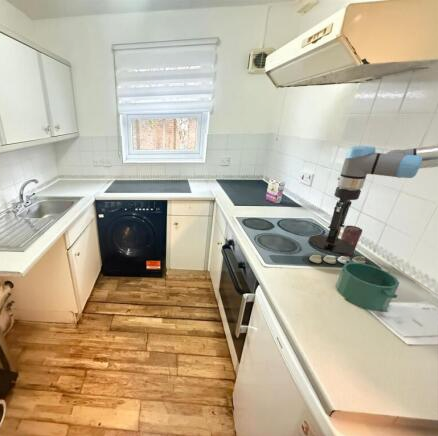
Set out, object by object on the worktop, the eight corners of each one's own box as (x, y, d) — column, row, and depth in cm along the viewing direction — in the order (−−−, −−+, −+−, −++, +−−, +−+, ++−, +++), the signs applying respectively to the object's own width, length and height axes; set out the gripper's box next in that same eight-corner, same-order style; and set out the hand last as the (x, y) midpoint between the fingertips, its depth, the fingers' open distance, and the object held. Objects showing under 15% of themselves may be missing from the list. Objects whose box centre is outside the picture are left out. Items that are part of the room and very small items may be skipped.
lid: (337, 238, 108) (344, 219, 104) (363, 256, 93) (371, 235, 90) (301, 236, 109) (306, 218, 106) (321, 254, 95) (327, 233, 91)
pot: (361, 279, 95) (370, 259, 91) (407, 318, 77) (420, 295, 73) (323, 277, 96) (330, 257, 93) (358, 314, 78) (368, 291, 74)
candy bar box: (280, 203, 180) (285, 182, 174) (275, 204, 179) (280, 182, 173) (270, 199, 190) (274, 179, 184) (264, 199, 189) (268, 179, 183)
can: (355, 258, 109) (365, 231, 104) (338, 256, 111) (348, 229, 106) (349, 252, 114) (359, 226, 109) (334, 250, 116) (343, 224, 111)
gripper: (343, 182, 99) (327, 233, 108) (330, 189, 89) (314, 244, 98) (366, 186, 93) (347, 239, 102) (355, 193, 84) (336, 251, 93)
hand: (331, 241), depth 100 cm, fingers closed on lid, 3 cm apart
